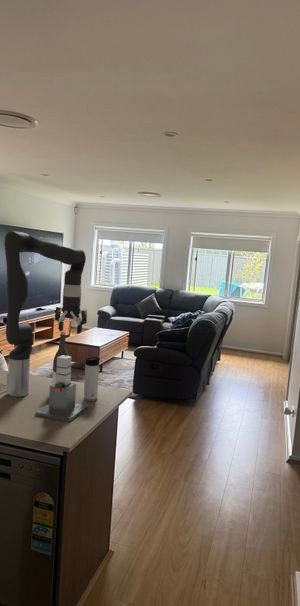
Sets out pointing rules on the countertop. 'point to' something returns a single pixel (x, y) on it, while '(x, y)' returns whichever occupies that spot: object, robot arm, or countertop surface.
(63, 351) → the wine bottle
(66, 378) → the block
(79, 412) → the stepped pedestal base
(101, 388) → the countertop surface
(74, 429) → the countertop surface
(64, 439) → the countertop surface
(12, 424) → the countertop surface
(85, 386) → the travel mug
